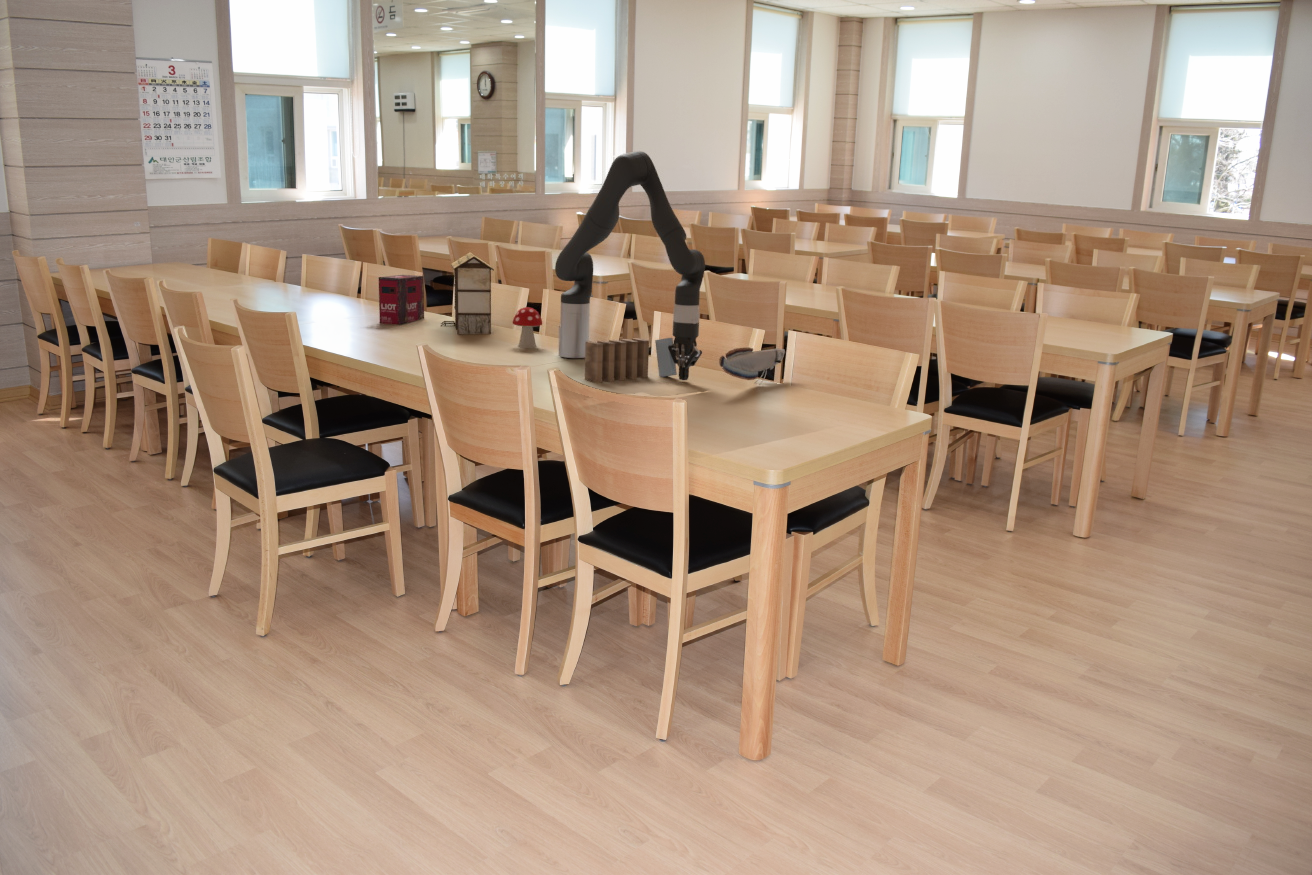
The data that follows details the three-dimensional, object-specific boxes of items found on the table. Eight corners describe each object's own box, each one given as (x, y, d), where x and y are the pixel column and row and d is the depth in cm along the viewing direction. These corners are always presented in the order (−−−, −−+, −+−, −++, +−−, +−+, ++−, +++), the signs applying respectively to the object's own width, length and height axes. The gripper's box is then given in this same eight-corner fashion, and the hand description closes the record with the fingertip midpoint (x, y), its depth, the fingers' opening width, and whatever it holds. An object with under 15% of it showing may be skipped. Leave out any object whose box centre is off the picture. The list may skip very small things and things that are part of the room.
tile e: (584, 379, 291) (585, 341, 288) (589, 378, 292) (590, 341, 289) (596, 382, 286) (597, 344, 284) (601, 382, 287) (602, 344, 285)
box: (404, 326, 390) (403, 274, 385) (424, 328, 387) (423, 276, 383) (379, 331, 375) (378, 277, 370) (400, 333, 372) (399, 278, 367)
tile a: (630, 374, 301) (631, 338, 299) (635, 374, 302) (636, 338, 300) (643, 378, 297) (644, 341, 294) (647, 377, 298) (649, 340, 295)
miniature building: (494, 342, 358) (493, 256, 352) (440, 341, 354) (438, 255, 347) (488, 332, 382) (488, 252, 375) (438, 332, 378) (437, 251, 371)
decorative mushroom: (544, 351, 342) (544, 306, 338) (539, 354, 333) (539, 309, 330) (515, 349, 342) (515, 305, 339) (509, 353, 334) (509, 308, 331)
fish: (722, 395, 275) (725, 352, 272) (704, 391, 279) (706, 349, 276) (794, 382, 299) (797, 342, 296) (776, 379, 303) (779, 340, 300)
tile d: (596, 378, 293) (597, 340, 291) (601, 377, 294) (602, 340, 292) (608, 381, 289) (609, 343, 286) (613, 381, 290) (614, 343, 287)
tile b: (619, 376, 299) (620, 339, 296) (624, 375, 300) (625, 338, 297) (631, 379, 294) (632, 341, 292) (636, 378, 295) (637, 341, 293)
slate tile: (659, 377, 299) (655, 340, 299) (664, 376, 300) (659, 340, 300) (672, 375, 295) (667, 338, 294) (676, 374, 296) (672, 337, 295)
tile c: (608, 377, 296) (609, 340, 293) (612, 376, 297) (613, 339, 295) (620, 380, 291) (621, 342, 289) (625, 379, 293) (626, 342, 290)
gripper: (661, 318, 291) (659, 377, 295) (691, 323, 281) (688, 384, 285) (681, 317, 295) (678, 375, 299) (711, 322, 285) (708, 382, 289)
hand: (683, 379), depth 292 cm, fingers closed
